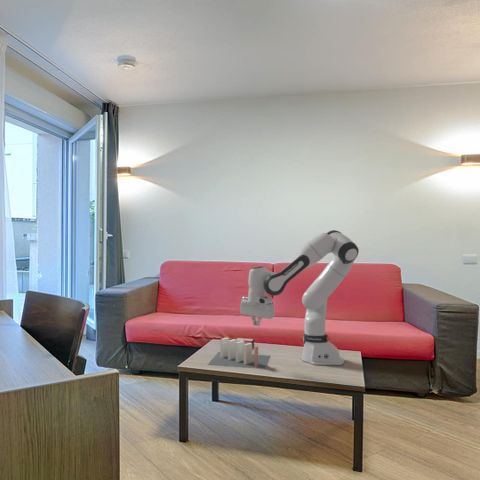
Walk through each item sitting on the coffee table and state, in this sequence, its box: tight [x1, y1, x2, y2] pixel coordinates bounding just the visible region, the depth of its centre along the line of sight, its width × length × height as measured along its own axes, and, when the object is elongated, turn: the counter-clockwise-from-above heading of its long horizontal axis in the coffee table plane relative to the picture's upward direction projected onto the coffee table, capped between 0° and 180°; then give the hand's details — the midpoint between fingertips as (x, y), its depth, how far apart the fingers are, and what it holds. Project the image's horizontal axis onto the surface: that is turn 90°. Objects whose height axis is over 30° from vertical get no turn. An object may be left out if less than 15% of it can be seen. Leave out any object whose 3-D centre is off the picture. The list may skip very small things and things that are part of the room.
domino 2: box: [228, 338, 237, 360], centre depth 205 cm, size 2×5×10 cm, turn 140°
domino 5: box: [253, 343, 259, 367], centre depth 195 cm, size 2×5×10 cm, turn 3°
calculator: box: [235, 337, 255, 347], centre depth 230 cm, size 11×4×15 cm
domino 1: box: [220, 337, 230, 358], centre depth 209 cm, size 2×5×10 cm, turn 139°
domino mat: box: [207, 352, 271, 370], centre depth 203 cm, size 30×23×1 cm
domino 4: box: [244, 343, 253, 364], centre depth 198 cm, size 2×5×10 cm, turn 139°
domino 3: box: [236, 341, 244, 362], centre depth 202 cm, size 2×5×10 cm, turn 139°
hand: (256, 325), depth 195 cm, fingers closed
